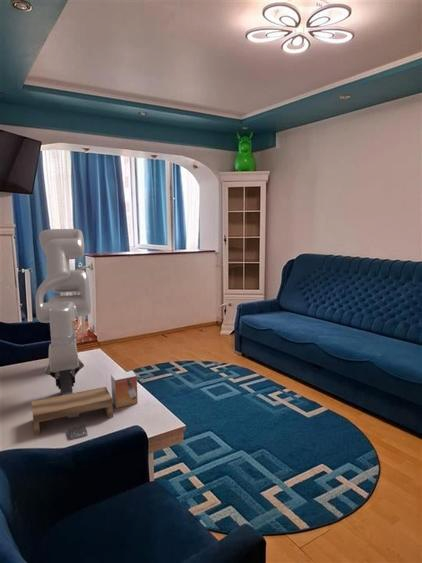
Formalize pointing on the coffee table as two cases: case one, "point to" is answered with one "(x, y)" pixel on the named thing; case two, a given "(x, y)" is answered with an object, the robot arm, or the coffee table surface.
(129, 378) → the small box
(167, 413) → the coffee table surface
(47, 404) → the bench
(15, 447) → the coffee table surface
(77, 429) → the token
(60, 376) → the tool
